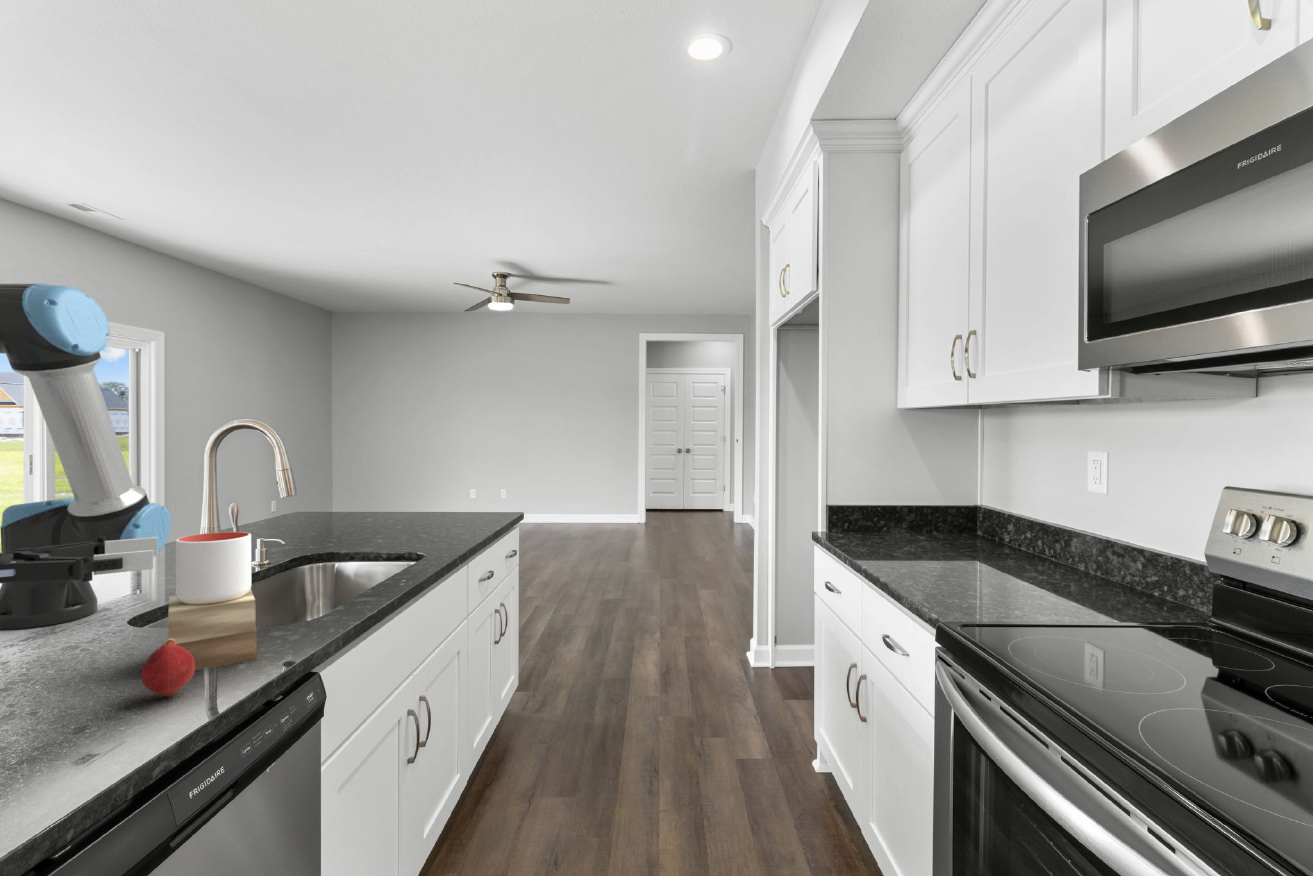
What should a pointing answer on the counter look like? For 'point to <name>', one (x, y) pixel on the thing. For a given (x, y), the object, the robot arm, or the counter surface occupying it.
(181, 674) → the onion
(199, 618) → the block top
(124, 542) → the robot arm
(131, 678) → the counter surface
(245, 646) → the block bottom
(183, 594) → the cup
